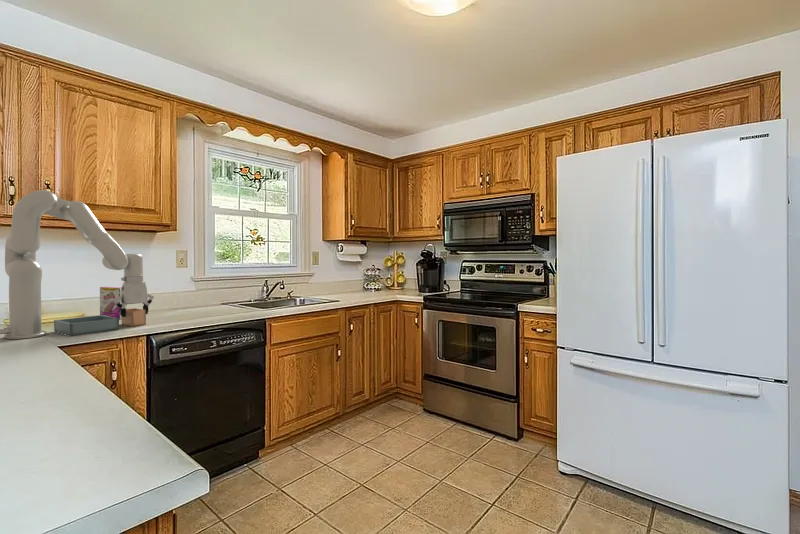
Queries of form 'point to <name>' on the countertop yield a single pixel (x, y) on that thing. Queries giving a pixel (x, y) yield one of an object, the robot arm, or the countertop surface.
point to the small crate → (134, 317)
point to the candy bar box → (110, 301)
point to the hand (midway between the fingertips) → (134, 315)
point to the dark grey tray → (86, 325)
